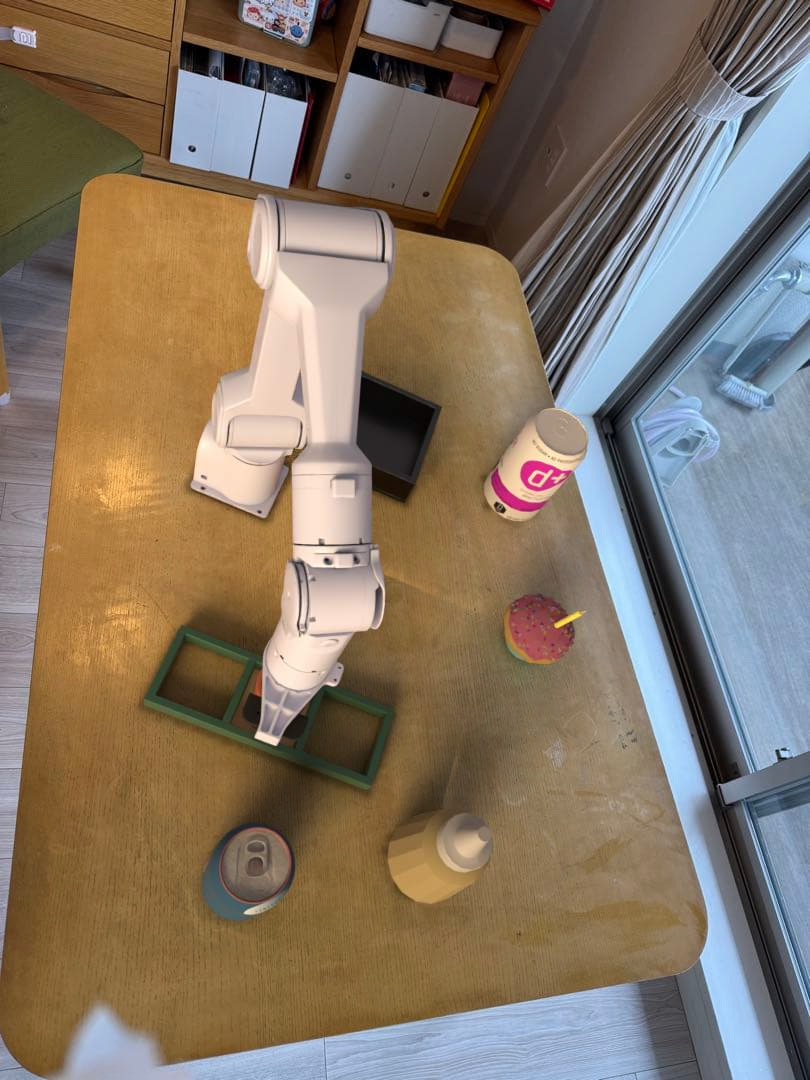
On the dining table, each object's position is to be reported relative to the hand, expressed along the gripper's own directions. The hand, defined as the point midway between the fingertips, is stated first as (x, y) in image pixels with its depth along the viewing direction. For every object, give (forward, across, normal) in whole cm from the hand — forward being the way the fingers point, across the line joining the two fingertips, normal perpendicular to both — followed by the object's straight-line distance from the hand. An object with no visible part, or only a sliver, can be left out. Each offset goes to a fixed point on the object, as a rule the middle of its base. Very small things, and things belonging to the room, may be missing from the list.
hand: (282, 691), depth 75 cm
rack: (+7, 0, 0) cm, 7 cm away
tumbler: (+6, 0, 0) cm, 6 cm away
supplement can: (+7, +39, -19) cm, 44 cm away
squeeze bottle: (+7, -9, -19) cm, 22 cm away
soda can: (+7, -16, -3) cm, 18 cm away
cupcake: (+7, +19, -25) cm, 32 cm away
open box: (+7, +38, +1) cm, 39 cm away
